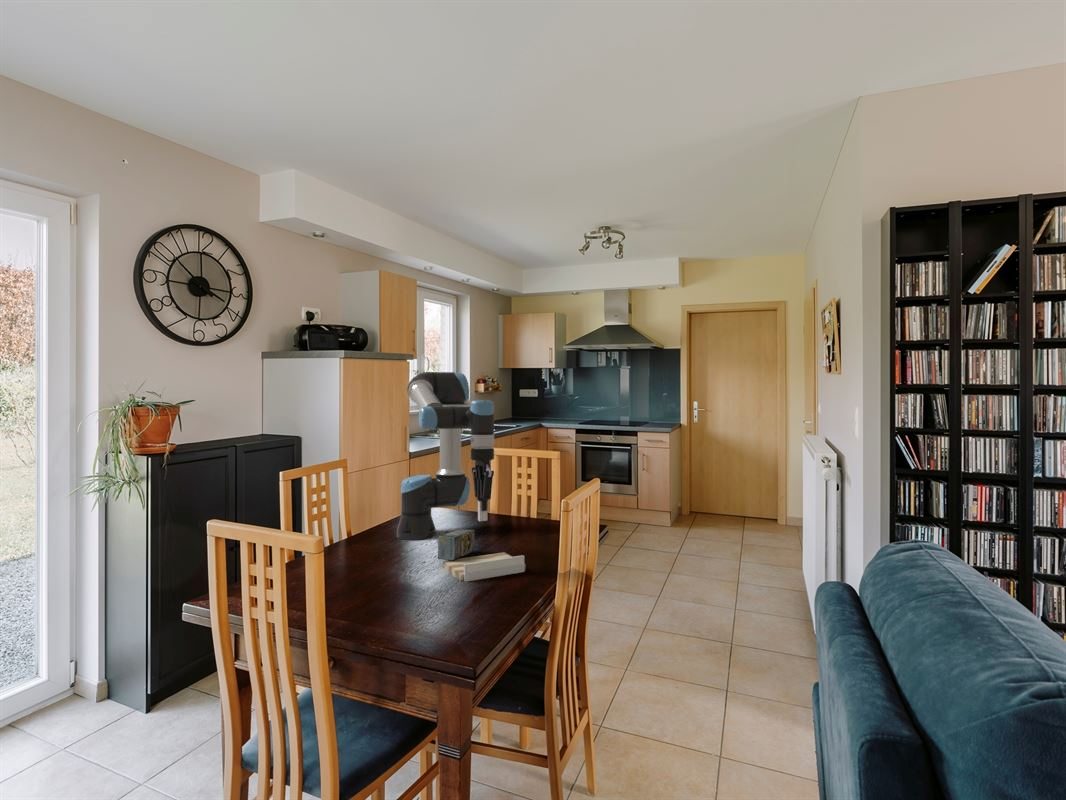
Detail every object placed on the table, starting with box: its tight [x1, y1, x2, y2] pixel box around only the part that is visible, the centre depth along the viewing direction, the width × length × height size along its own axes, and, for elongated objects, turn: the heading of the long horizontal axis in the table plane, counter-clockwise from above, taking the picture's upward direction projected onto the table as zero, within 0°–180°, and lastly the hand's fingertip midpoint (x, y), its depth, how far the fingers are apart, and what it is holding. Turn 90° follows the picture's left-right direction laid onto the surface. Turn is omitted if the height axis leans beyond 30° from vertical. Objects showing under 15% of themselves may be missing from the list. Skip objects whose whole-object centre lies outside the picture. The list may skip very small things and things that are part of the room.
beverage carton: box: [437, 528, 476, 561], centre depth 188 cm, size 8×19×7 cm
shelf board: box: [442, 552, 527, 582], centre depth 177 cm, size 16×22×2 cm
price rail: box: [464, 555, 525, 583], centre depth 170 cm, size 1×20×5 cm, turn 119°
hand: (482, 520), depth 178 cm, fingers closed
